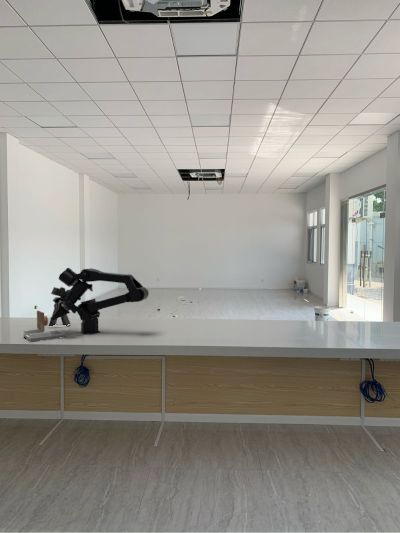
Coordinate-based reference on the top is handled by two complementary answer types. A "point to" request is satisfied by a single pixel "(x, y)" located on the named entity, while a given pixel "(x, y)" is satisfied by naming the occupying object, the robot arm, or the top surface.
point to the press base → (41, 335)
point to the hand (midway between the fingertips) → (51, 320)
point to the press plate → (41, 321)
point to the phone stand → (64, 319)
